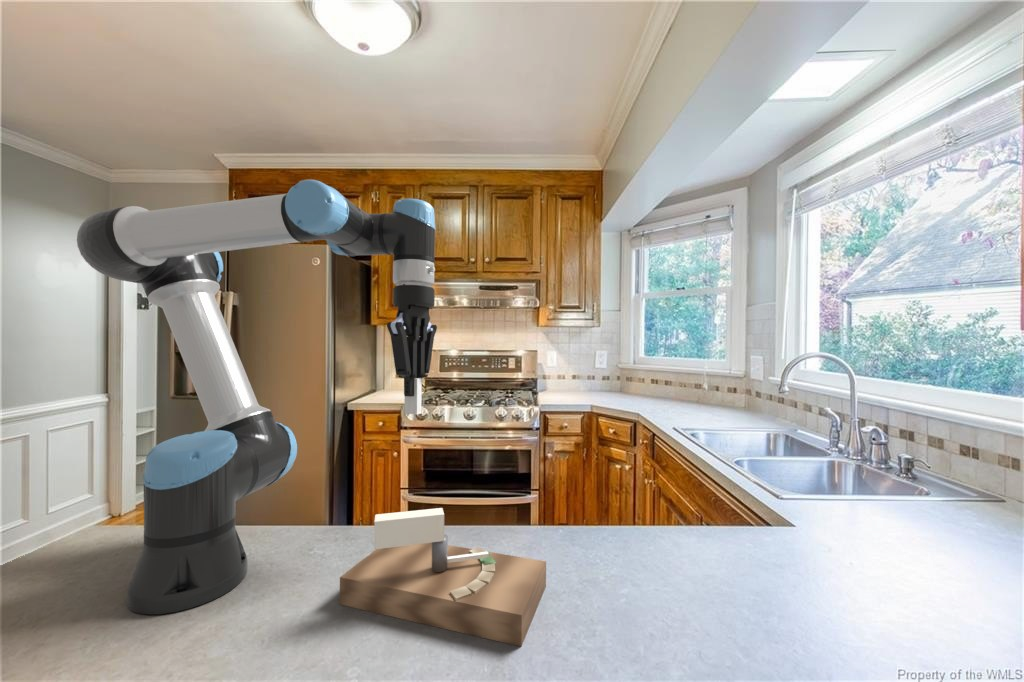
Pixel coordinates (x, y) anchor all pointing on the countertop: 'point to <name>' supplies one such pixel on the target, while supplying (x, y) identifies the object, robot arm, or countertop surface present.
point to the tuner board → (449, 590)
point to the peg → (418, 534)
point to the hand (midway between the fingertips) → (412, 413)
